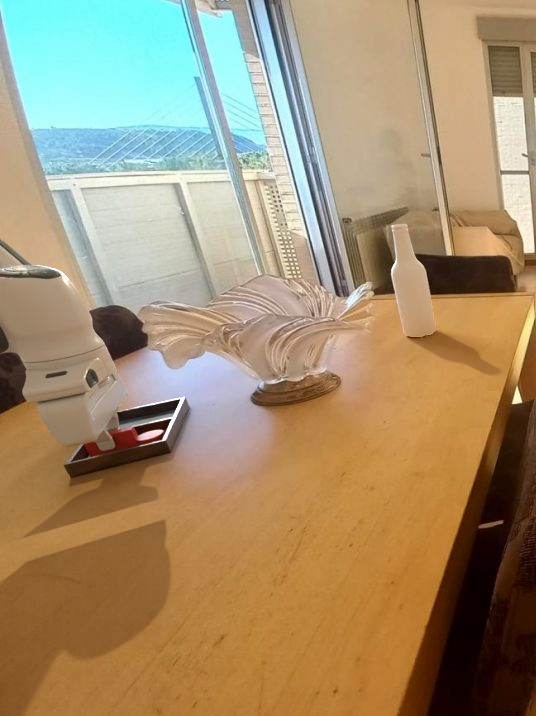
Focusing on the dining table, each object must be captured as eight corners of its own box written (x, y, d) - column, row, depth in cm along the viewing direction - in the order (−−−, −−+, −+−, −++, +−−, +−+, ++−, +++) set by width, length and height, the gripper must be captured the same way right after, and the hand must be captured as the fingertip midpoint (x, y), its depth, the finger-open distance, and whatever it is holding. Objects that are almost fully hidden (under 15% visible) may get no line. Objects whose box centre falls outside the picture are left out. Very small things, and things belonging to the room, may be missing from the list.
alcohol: (430, 326, 140) (411, 221, 129) (441, 333, 134) (421, 224, 123) (400, 333, 135) (376, 225, 124) (409, 340, 129) (386, 227, 117)
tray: (70, 477, 75) (63, 465, 74) (107, 425, 90) (101, 414, 89) (171, 452, 81) (165, 440, 80) (189, 407, 96) (185, 396, 95)
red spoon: (89, 461, 78) (79, 443, 76) (96, 451, 81) (86, 434, 79) (164, 443, 82) (156, 426, 81) (168, 434, 85) (160, 417, 84)
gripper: (68, 353, 81) (105, 423, 87) (16, 398, 65) (64, 480, 71) (118, 345, 84) (151, 413, 90) (80, 386, 68) (121, 465, 74)
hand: (112, 443), depth 80 cm, fingers closed
